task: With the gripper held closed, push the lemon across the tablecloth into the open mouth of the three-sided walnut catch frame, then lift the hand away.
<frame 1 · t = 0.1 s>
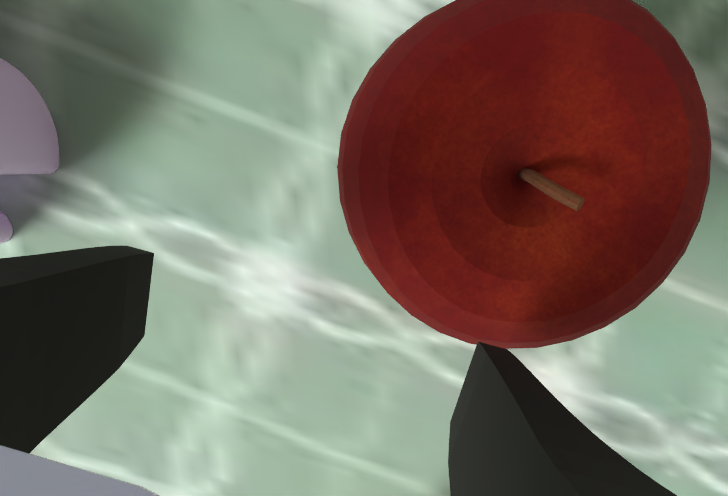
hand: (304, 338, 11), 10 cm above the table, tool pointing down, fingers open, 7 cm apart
apple: (481, 170, 21), on the table
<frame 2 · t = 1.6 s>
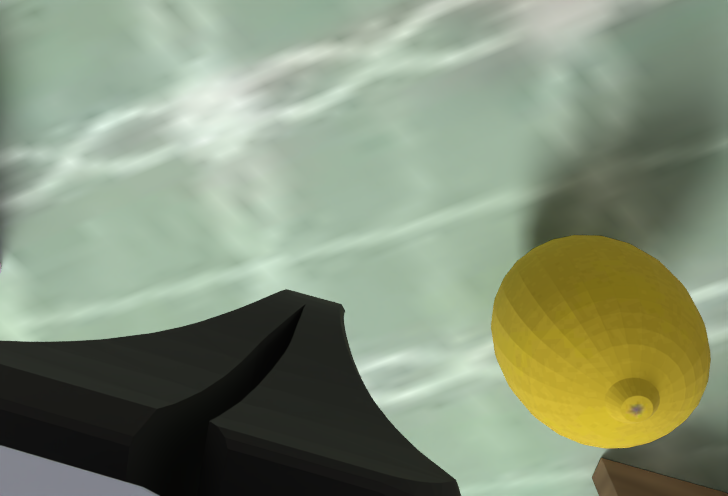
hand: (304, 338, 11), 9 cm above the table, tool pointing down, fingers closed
lemon: (557, 282, 20), on the table
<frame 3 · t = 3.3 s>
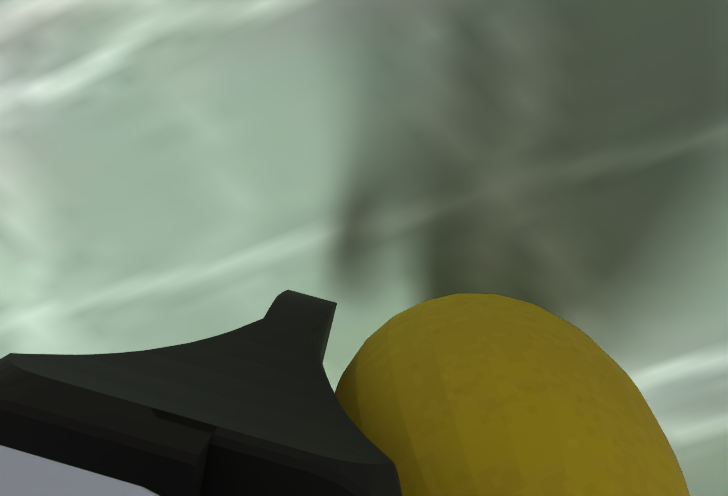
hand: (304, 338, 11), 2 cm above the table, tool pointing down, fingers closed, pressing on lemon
lemon: (449, 350, 13), on the table, touching gripper
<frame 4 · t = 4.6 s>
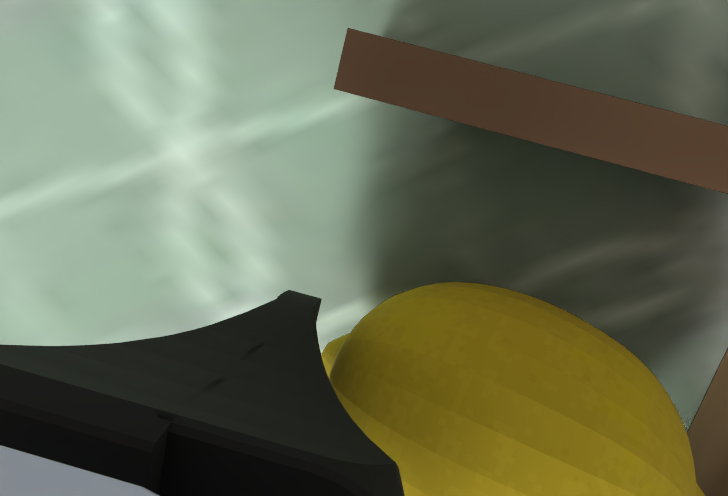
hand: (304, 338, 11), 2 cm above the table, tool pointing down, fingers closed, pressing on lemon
catch frame: (484, 397, 14), on the table
lemon: (318, 349, 13), point 1 cm above the table, touching gripper
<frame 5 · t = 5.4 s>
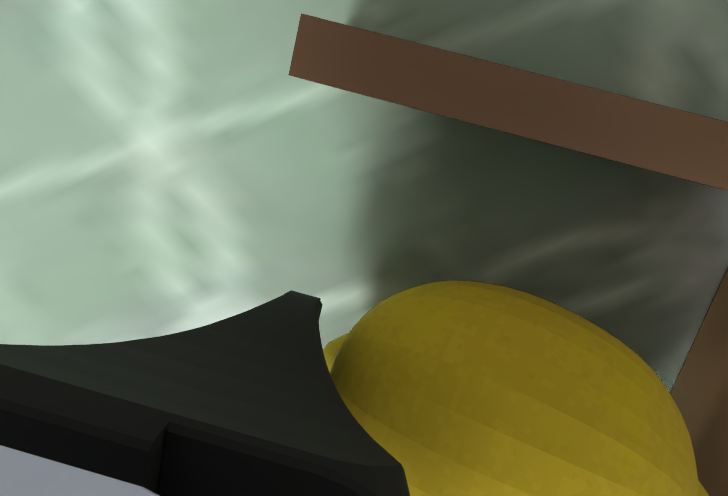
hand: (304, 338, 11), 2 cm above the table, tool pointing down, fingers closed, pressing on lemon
catch frame: (455, 387, 14), on the table
lemon: (318, 349, 13), point 1 cm above the table, touching gripper
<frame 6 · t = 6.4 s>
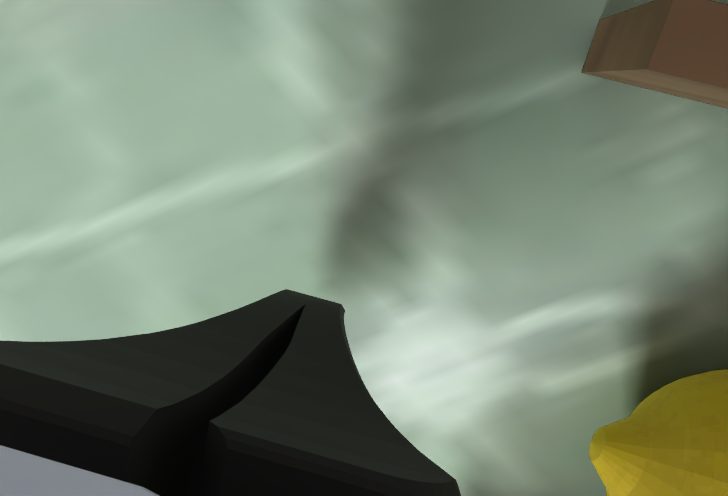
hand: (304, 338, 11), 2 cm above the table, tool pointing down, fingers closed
catch frame: (691, 406, 13), on the table
lemon: (581, 438, 11), point 2 cm above the table, touching catch frame
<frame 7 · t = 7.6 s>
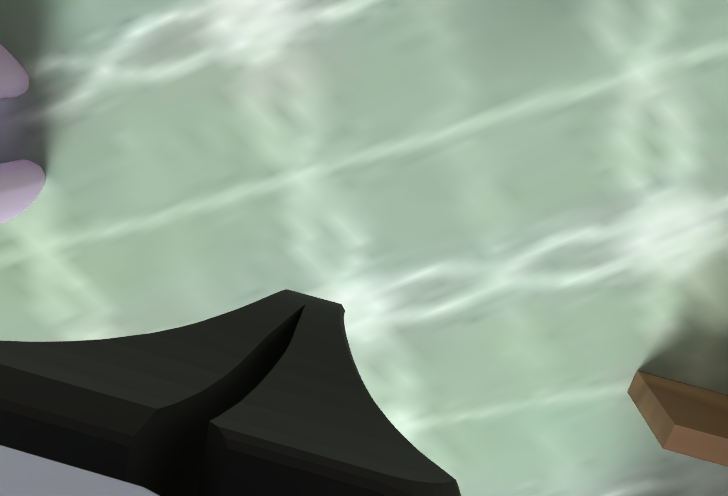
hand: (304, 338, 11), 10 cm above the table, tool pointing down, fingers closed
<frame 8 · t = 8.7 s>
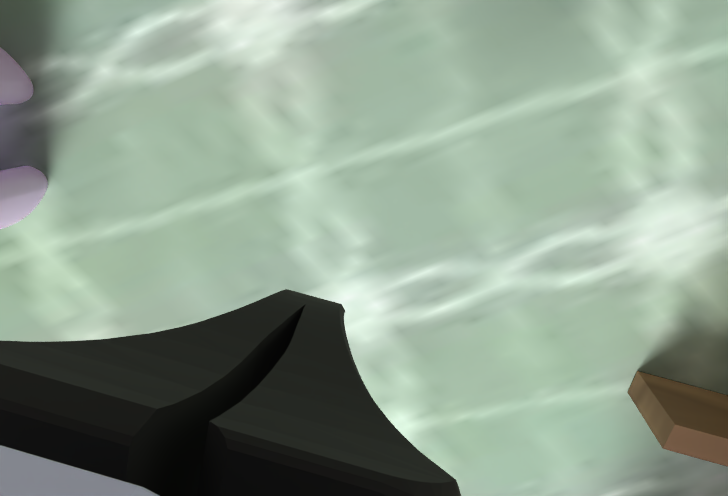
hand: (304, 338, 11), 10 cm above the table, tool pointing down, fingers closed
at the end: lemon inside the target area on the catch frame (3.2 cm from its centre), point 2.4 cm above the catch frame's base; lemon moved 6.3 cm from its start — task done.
